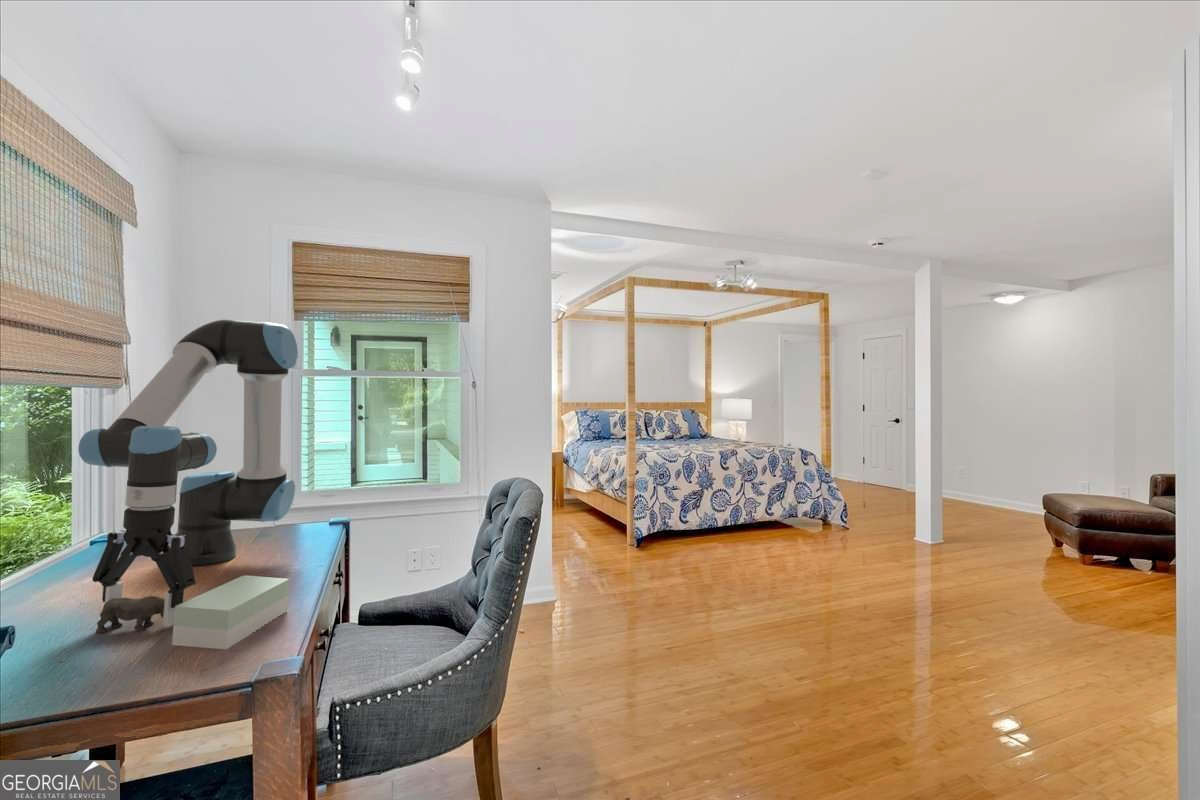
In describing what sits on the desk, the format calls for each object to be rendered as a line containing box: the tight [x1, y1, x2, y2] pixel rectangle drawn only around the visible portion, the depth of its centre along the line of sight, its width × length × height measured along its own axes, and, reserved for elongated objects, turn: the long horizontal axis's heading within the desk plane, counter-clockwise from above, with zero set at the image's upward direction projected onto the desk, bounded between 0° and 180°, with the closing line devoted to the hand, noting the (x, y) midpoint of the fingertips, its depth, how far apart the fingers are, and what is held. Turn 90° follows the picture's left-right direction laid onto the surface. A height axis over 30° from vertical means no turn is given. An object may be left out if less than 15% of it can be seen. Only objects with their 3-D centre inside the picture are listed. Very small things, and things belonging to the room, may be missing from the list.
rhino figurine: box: [95, 595, 165, 634], centre depth 104 cm, size 4×14×6 cm, turn 112°
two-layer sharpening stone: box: [171, 574, 290, 650], centre depth 106 cm, size 18×10×7 cm, turn 178°
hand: (141, 621), depth 104 cm, fingers closed on rhino figurine, 11 cm apart
